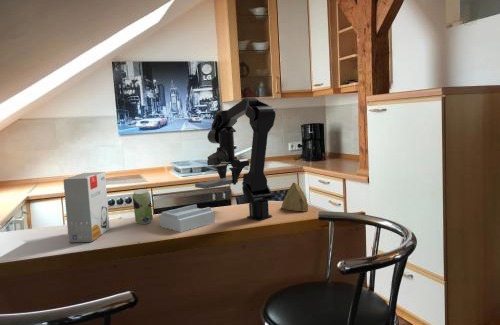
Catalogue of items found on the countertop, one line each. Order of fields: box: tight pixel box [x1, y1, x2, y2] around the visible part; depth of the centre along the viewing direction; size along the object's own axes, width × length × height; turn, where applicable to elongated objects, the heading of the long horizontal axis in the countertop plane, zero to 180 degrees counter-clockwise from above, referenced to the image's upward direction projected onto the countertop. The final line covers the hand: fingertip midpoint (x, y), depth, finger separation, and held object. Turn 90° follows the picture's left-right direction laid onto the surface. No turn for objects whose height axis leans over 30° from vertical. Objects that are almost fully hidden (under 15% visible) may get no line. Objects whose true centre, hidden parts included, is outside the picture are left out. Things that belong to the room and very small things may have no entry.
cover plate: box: [194, 177, 239, 190], centre depth 159 cm, size 6×16×2 cm, turn 134°
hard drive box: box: [63, 171, 111, 243], centre depth 134 cm, size 16×8×20 cm, turn 179°
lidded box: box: [159, 203, 215, 233], centre depth 142 cm, size 12×14×5 cm
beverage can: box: [132, 188, 154, 225], centre depth 147 cm, size 6×7×12 cm
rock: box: [280, 182, 309, 212], centre depth 156 cm, size 11×9×10 cm
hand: (229, 183), depth 163 cm, fingers closed on cover plate, 6 cm apart
